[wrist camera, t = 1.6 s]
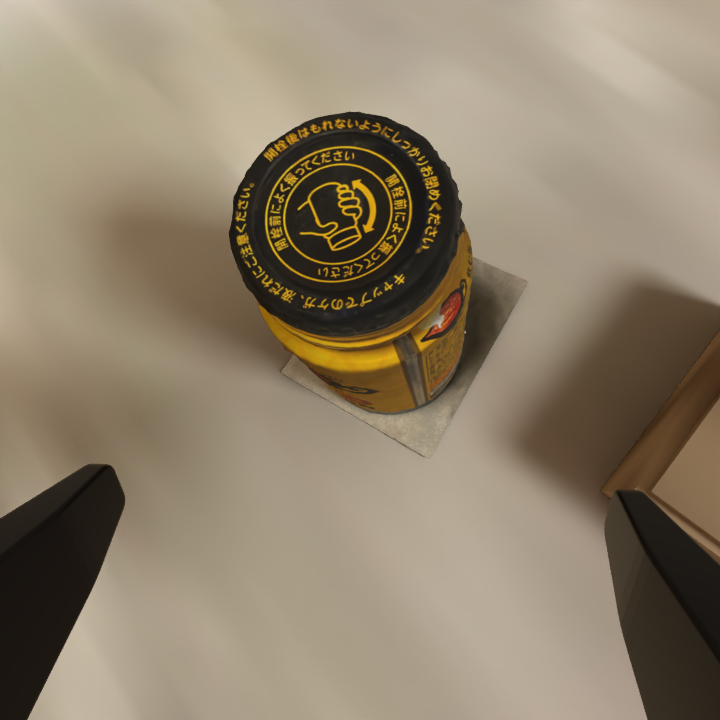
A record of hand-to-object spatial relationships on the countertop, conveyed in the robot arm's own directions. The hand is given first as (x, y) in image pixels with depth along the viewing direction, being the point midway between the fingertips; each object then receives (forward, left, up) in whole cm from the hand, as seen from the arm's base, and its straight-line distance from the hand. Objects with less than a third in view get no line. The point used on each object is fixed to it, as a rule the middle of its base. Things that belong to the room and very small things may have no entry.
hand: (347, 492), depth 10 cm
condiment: (+5, +4, -13) cm, 14 cm away
